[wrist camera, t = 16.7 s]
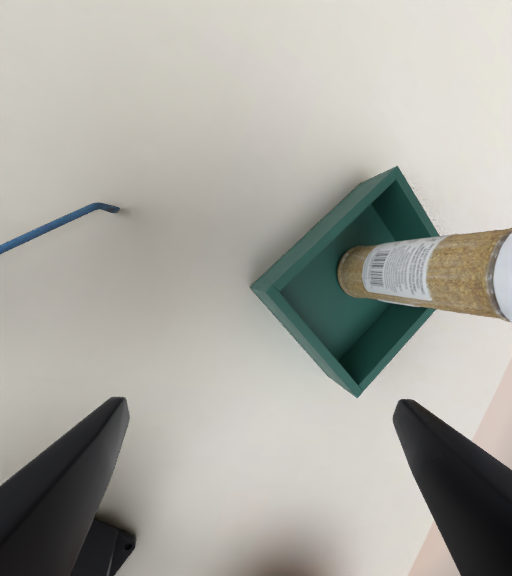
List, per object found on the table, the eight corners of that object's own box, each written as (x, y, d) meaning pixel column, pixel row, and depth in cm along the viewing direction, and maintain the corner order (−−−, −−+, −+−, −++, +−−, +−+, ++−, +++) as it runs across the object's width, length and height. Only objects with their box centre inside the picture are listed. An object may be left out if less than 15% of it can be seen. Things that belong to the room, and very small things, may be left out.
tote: (327, 376, 23) (357, 398, 19) (249, 287, 20) (265, 291, 17) (420, 276, 25) (464, 277, 21) (360, 183, 22) (397, 165, 19)
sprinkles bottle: (366, 305, 23) (602, 355, 10) (326, 283, 22) (537, 306, 9) (387, 259, 23) (644, 250, 10) (348, 235, 22) (587, 188, 9)
